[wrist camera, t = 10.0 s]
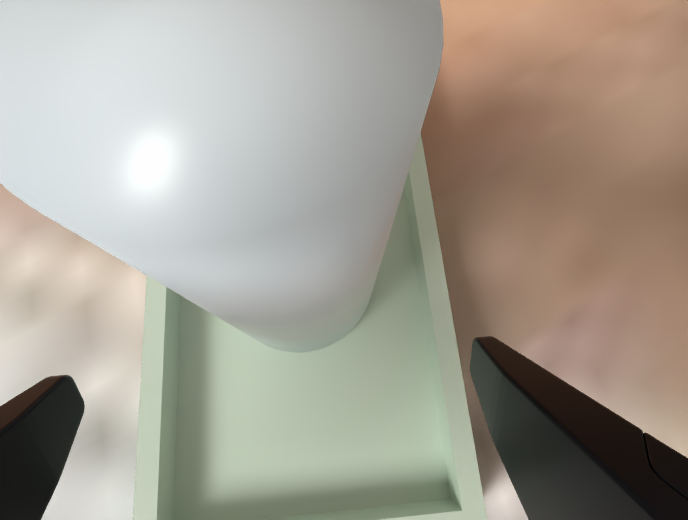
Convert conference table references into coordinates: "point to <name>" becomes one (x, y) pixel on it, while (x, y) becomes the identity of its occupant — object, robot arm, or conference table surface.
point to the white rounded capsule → (224, 143)
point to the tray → (314, 404)
